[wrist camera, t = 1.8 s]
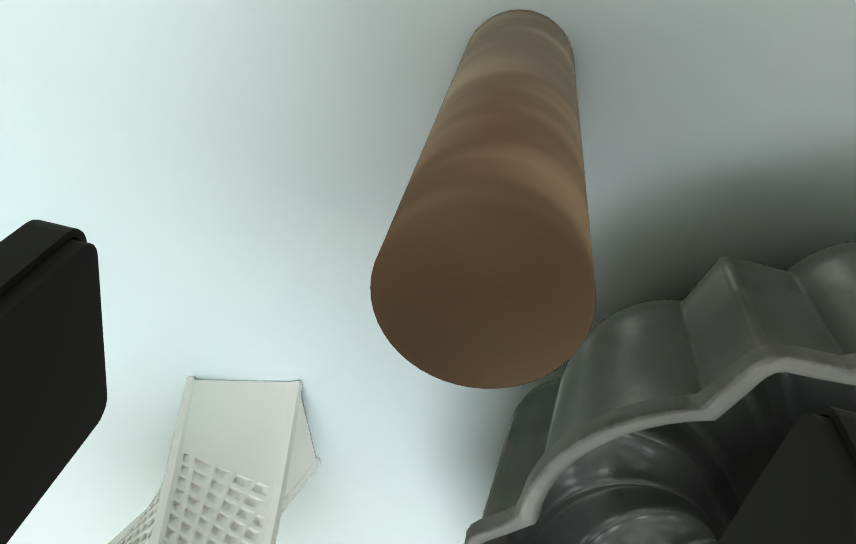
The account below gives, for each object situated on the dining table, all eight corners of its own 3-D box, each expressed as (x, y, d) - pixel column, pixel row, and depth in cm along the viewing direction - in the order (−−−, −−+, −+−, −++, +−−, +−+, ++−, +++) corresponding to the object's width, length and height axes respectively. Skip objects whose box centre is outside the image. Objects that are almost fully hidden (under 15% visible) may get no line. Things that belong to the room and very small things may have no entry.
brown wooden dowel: (588, 24, 22) (629, 232, 10) (555, 131, 24) (558, 410, 12) (476, -2, 22) (389, 174, 10) (453, 106, 24) (356, 359, 12)
